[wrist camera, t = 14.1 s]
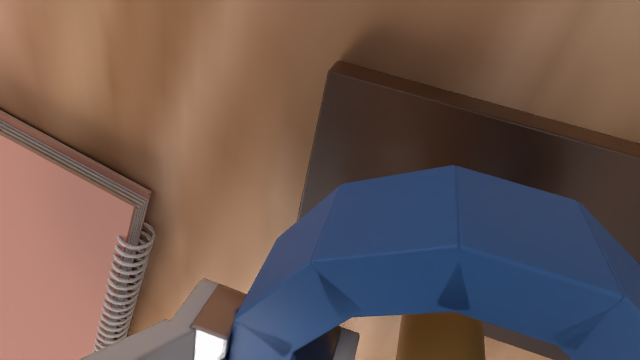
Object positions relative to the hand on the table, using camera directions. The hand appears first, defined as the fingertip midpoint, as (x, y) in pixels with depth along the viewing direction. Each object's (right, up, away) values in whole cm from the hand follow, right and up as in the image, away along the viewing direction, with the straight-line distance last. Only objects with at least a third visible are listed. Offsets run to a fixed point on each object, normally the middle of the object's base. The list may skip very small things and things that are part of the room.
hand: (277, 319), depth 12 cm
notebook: (-19, -3, +18) cm, 27 cm away
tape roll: (+5, -1, +1) cm, 5 cm away
